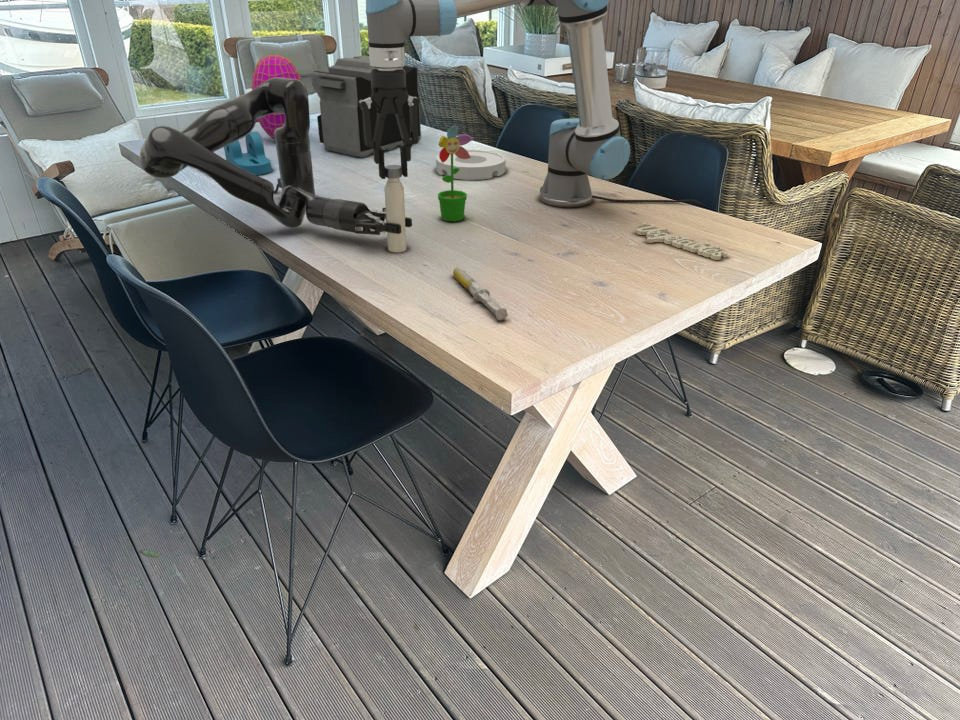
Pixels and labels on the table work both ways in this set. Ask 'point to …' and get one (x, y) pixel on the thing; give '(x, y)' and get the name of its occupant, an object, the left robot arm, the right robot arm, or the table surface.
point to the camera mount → (249, 155)
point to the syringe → (479, 293)
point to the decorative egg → (267, 70)
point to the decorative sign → (680, 242)
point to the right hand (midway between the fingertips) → (393, 176)
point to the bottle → (395, 214)
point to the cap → (393, 171)
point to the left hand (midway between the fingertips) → (405, 226)
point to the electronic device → (356, 107)
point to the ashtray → (473, 165)
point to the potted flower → (452, 199)
